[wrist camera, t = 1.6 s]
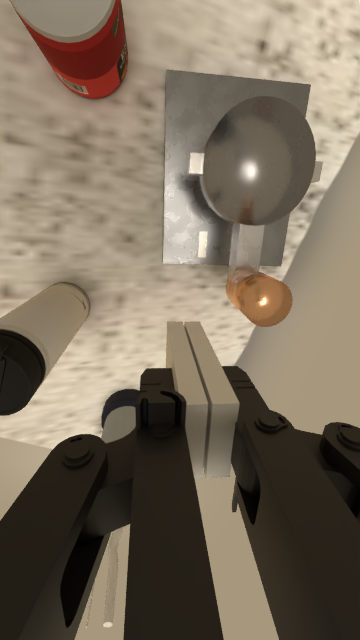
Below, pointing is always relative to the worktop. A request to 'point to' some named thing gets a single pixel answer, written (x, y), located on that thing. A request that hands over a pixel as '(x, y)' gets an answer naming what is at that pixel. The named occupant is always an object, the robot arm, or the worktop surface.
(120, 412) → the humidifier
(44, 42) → the canned food
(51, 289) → the travel mug
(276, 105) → the dark dome with handle
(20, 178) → the worktop surface
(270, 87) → the mount plate
